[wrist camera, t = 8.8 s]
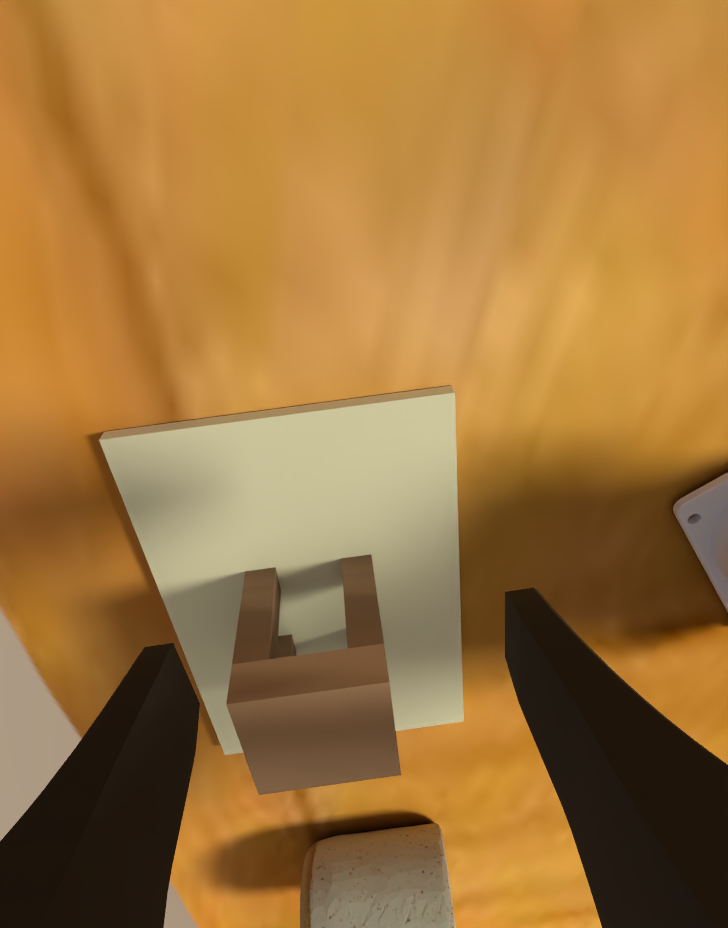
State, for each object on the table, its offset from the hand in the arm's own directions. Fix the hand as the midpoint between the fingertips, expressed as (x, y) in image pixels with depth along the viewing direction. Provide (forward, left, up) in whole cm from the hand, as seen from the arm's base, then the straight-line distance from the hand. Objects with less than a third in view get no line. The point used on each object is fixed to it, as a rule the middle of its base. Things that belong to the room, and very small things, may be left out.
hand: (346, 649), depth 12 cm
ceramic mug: (-25, +15, -10) cm, 31 cm away
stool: (-6, +5, -9) cm, 12 cm away
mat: (-6, +5, -9) cm, 12 cm away
